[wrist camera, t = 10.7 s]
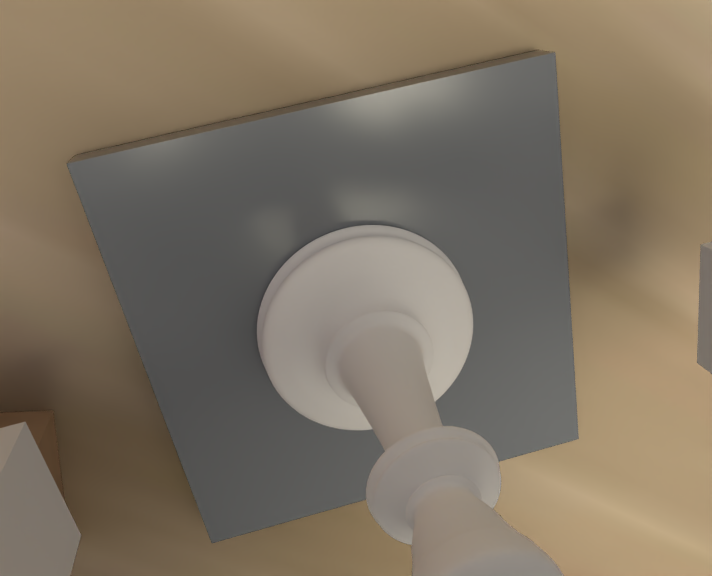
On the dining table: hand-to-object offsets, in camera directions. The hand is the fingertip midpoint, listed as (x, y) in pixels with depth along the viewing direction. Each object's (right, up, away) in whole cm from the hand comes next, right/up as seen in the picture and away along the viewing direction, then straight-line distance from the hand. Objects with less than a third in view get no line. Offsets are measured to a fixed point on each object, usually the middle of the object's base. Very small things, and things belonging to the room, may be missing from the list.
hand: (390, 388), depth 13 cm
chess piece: (0, +1, +3) cm, 3 cm away
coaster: (-1, +1, +3) cm, 4 cm away
